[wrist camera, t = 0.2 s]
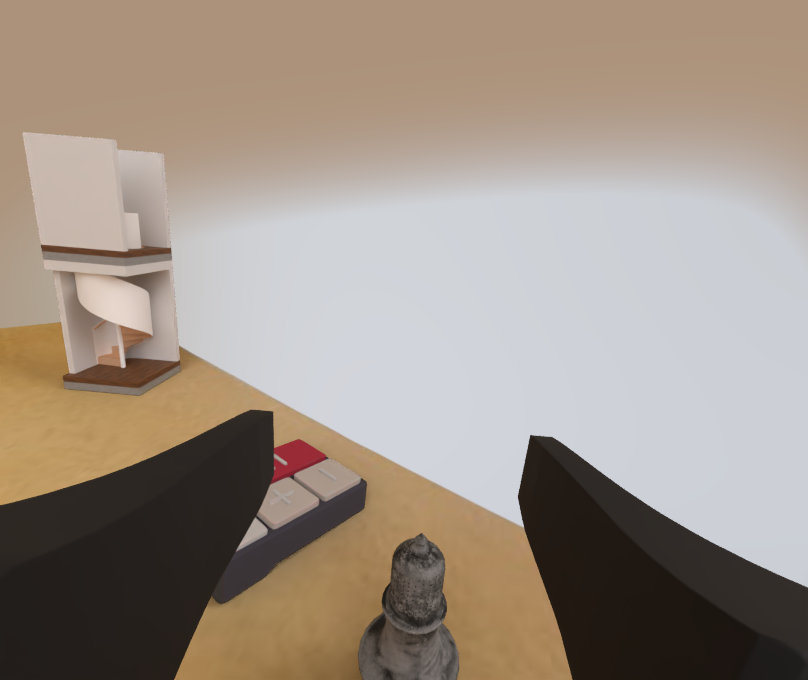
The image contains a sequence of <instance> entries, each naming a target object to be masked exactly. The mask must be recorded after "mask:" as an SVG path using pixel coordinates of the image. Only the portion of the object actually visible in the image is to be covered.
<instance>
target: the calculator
mask: <svg viewBox="0 0 808 680" xmlns="http://www.w3.org/2000/svg"><path fill="white" fill-rule="evenodd" d="M366 486H367V482H366V481H365V480H363V479H362V478H361V477H360V476H359V475H358V474H356V473H354V472H353V471H351V470H350V469H348V468H346V467H345V466H343V465H341V464H340V463H338V462H336V461H335V460H333V459H331V458H328V457H326V455H325V454H323V453H322V452H320V451H319V450H317V449H315V448H314V447H312V446H310V445H309V444H307V443H305V442H304V441H302V440H300V439H298V440H295V441H292V442H290V443H287V444H284V445H281V446H279V447H276V448H274V476H273V479H272V481H271V484H270V486H269V489H268V492H267V494H266V496H265V499H264V501H263V504H262V506H261V508H260V510H259V511H258V513H257V515H256V517H255V519H254V520H253V522H252V524H251V526H250V528H249V529H248V531H247V533H246V535H245V536H244V538H243V540H242V542H241V543H240V545H239V547H238V549H237V550H236V552H235V554H234V556H233V557H232V559H231V561H230V563H229V564H228V566H227V568H226V570H225V571H224V573H223V575H222V577H221V578H220V580H219V582H218V584H217V586H216V588H215V590H214V592H213V594H212V596H213V598H214V599H215V600H216V601H217V602H218V603H225V602H227V601H228V600H230V599H231V598H233V597H235V596H236V595H238V594H239V593H241V592H242V591H244V590H245V589H247V588H249V587H250V586H252V585H253V584H255V583H256V582H258V581H259V580H261V579H263V578H264V577H266V575H267V574H268V573H269V572H270V571H271V569H272V568H273V567H274V566H275V565H276V564H277V563H278V562H280V561H281V560H283V559H284V558H286V557H288V556H289V555H291V554H292V553H294V552H296V551H297V550H299V549H300V548H302V547H304V546H305V545H307V544H308V543H310V542H311V541H313V540H315V539H316V538H318V537H319V536H321V535H323V534H324V533H326V532H327V531H329V530H331V529H332V528H334V527H335V526H337V525H339V524H340V523H342V522H343V521H345V520H346V519H348V518H350V517H351V516H353V515H354V514H356V513H358V512H359V511H361V510H362V509H364V506H365V497H366Z"/></svg>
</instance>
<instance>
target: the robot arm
mask: <svg viewBox="0 0 808 680" xmlns="http://www.w3.org/2000/svg"><path fill="white" fill-rule="evenodd" d="M273 476H274V430H273V412H272V411H261V410H249V411H247V412H244V413H242V414H240V415H238V416H236V417H234V418H232V419H230V420H228V421H226V422H224V423H222V424H220V425H218V426H216V427H214V428H212V429H210V430H208V431H206V432H204V433H202V434H200V435H198V436H196V437H194V438H192V439H190V440H188V441H186V442H184V443H182V444H180V445H177V446H175V447H173V448H171V449H169V450H167V451H164V452H162V453H160V454H158V455H156V456H154V457H151V458H149V459H146V460H144V461H142V462H139V463H137V464H134V465H132V466H129V467H126V468H124V469H121V470H118V471H116V472H113V473H110V474H107V475H105V476H102V477H99V478H96V479H93V480H89V481H86V482H83V483H80V484H76V485H73V486H70V487H67V488H63V489H60V490H57V491H54V492H50V493H47V494H43V495H40V496H36V497H32V498H28V499H25V500H21V501H17V502H13V503H9V504H5V505H0V680H174V678H175V676H176V674H177V671H178V669H179V667H180V664H181V662H182V660H183V657H184V655H185V653H186V650H187V648H188V646H189V643H190V641H191V639H192V637H193V635H194V632H195V630H196V628H197V626H198V623H199V621H200V619H201V617H202V615H203V612H204V610H205V608H206V606H207V604H208V601H209V599H210V597H211V595H212V594H213V592H214V590H215V588H216V586H217V584H218V582H219V580H220V578H221V577H222V575H223V573H224V571H225V570H226V568H227V566H228V564H229V563H230V561H231V559H232V557H233V556H234V554H235V552H236V550H237V549H238V547H239V545H240V543H241V542H242V540H243V538H244V536H245V535H246V533H247V531H248V529H249V528H250V526H251V524H252V522H253V520H254V519H255V517H256V515H257V513H258V511H259V510H260V508H261V506H262V504H263V501H264V499H265V496H266V494H267V492H268V489H269V486H270V484H271V481H272V479H273ZM518 500H519V505H520V510H521V515H522V520H523V524H524V528H525V532H526V535H527V538H528V541H529V544H530V547H531V550H532V552H533V555H534V558H535V561H536V564H537V567H538V569H539V572H540V575H541V578H542V580H543V583H544V586H545V589H546V592H547V594H548V597H549V600H550V603H551V605H552V608H553V611H554V614H555V617H556V620H557V623H558V626H559V630H560V633H561V636H562V640H563V644H564V648H565V652H566V656H567V660H568V664H569V667H570V671H571V675H572V679H573V680H808V588H807V587H805V586H802V585H801V584H798V583H796V582H794V581H791V580H789V579H786V578H784V577H782V576H780V575H777V574H775V573H773V572H771V571H769V570H767V569H764V568H762V567H760V566H758V565H756V564H754V563H752V562H750V561H747V560H745V559H743V558H742V557H739V556H738V555H736V554H734V553H732V552H730V551H728V550H726V549H724V548H722V547H719V546H718V545H716V544H714V543H712V542H710V541H708V540H706V539H704V538H703V537H701V536H699V535H697V534H695V533H693V532H692V531H690V530H688V529H686V528H685V527H683V526H681V525H680V524H678V523H676V522H674V521H673V520H671V519H669V518H668V517H666V516H664V515H663V514H661V513H659V512H658V511H656V510H655V509H653V508H651V507H650V506H648V505H647V504H645V503H644V502H642V501H641V500H639V499H638V498H636V497H635V496H633V495H632V494H630V493H629V492H627V491H626V490H624V489H623V488H622V487H620V486H619V485H617V484H616V483H615V482H613V481H612V480H611V479H609V478H608V477H606V476H605V475H604V474H602V473H601V472H600V471H598V470H597V469H596V468H594V467H593V466H592V465H590V464H589V463H588V462H586V461H585V460H584V459H582V458H581V457H580V456H578V455H577V454H576V453H574V452H573V451H572V450H570V449H569V448H568V447H566V446H565V445H564V444H562V443H561V442H559V441H558V440H556V439H554V438H553V437H544V436H532V435H530V439H529V444H528V450H527V454H526V459H525V464H524V469H523V474H522V479H521V484H520V489H519V494H518Z"/></svg>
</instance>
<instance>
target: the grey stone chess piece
mask: <svg viewBox="0 0 808 680" xmlns="http://www.w3.org/2000/svg"><path fill="white" fill-rule="evenodd" d="M444 573H445V560H444V556H443V554H442V552H441V551H440V549H439V548H438V547H437V546H436V545H435V544H434V543H432V542H430V541H429V540H428V539H427V538H426V537H425V536H424V535H423V534H422V533H421V534H419V535H418V536H416V537H415V538H412V539H408V540H406V541H404V542H403V543H401V544H400V545H399V546H398V547H397V548H396V550H395V552H394V555H393V559H392V569H391V581H390V584H389V585H388V586H387V587H386V589H385V591H384V593H383V597H382V608H383V613H382V614H381V615H379V616H378V617H376V618H375V619H374V620H373V621H372V622H371V623H370V624H369V626H368V627H367V628H366V630H365V632H364V634H363V636H362V638H361V641H360V646H359V652H358V659H359V670H360V672H361V675H362V678H363V680H457V676H458V671H459V654H458V650H457V647H456V644H455V641H454V639H453V637H452V635H451V634H450V632H449V630H448V629H447V628H446V627H445V626H444V624H443V623H442V622H443V620H444V619H445V616H446V612H447V602H446V599H445V596H444V594H443V593H442V589H443V581H444Z"/></svg>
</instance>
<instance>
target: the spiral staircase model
mask: <svg viewBox="0 0 808 680" xmlns="http://www.w3.org/2000/svg"><path fill="white" fill-rule="evenodd" d="M23 139H24V145H25V151H26V157H27V163H28V169H29V175H30V181H31V187H32V193H33V199H34V205H35V212H36V218H37V223H38V230H39V236H40V242H41V248H42V253H43V259H44V266H45V270H53V274H54V280H55V287H56V293H57V299H58V305H59V312H60V318H61V324H62V330H63V337H64V343H65V349H66V355H67V361H68V368H69V374H66V375H64V376H63V380H64V386H65V389H74V390H85V391H96V392H106V393H117V394H128V395H139V396H140V395H141V394H143V393H145V392H146V391H148V390H150V389H151V388H153V387H155V386H156V385H158V384H160V383H161V382H163V381H165V380H166V379H168V378H170V377H171V376H173V375H175V374H176V373H178V372H180V371H181V368H180V355H179V343H178V330H177V317H176V307H175V292H174V280H173V266H172V254H171V241H170V229H169V216H168V203H167V190H166V178H165V165H164V154H161V153H151V152H139V151H127V150H117V142H116V141H115V140H111V139H101V138H88V137H76V136H64V135H51V134H39V133H26V132H23Z"/></svg>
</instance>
